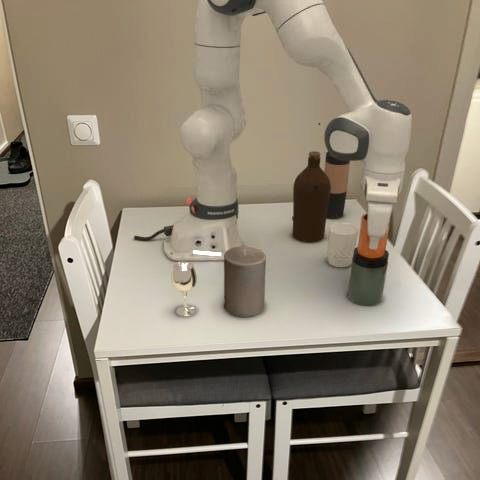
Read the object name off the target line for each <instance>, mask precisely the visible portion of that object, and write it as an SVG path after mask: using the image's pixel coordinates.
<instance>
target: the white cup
mask: <svg viewBox="0 0 480 480" xmlns="http://www.w3.org/2000/svg"><path fill="white" fill-rule="evenodd" d="M359 232H360V228H359V227H358V226H357V225H355V224H353V223H350V222H334V223H331V224H330V225H329V226H328V234H327V235H328V236H327V263H328V264H329V265H331V266H333V267H336V268H347V267H351V264H352V258H353V254H354V249H355V248H356V247H357V243H358V242H357V241H358V238H359Z"/></svg>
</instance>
